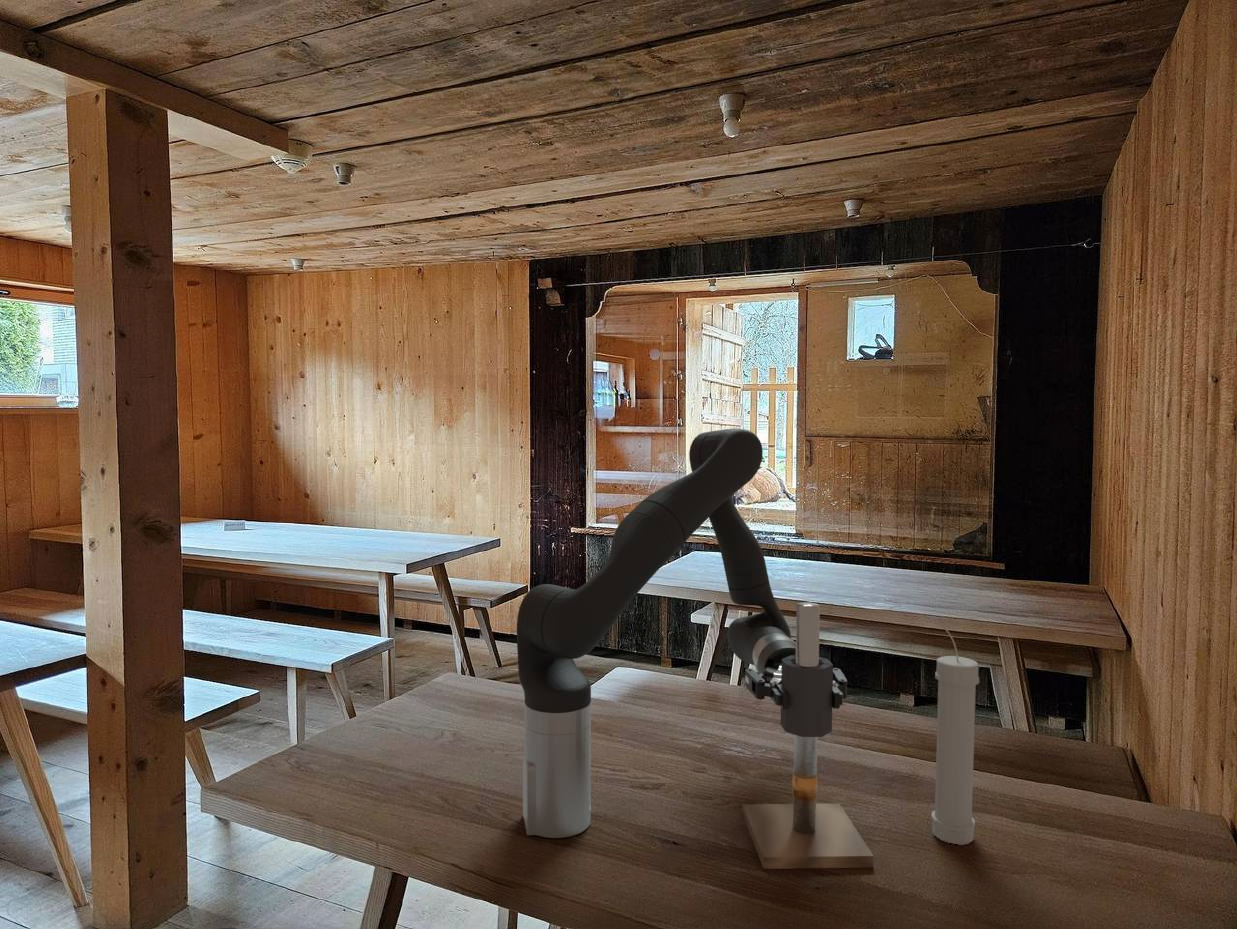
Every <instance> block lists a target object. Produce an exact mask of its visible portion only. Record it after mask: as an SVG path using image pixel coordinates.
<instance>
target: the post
mask: <svg viewBox="0 0 1237 929" xmlns="http://www.w3.org/2000/svg"><path fill="white" fill-rule="evenodd" d="M820 611H821V605H820V604H818V603H815V602H797V603H796V616H795V619H796V621H795V622H796V623H795V624H796V626H795V627H796V628H795V642H796V665H800V666H804V667H818V666H819V657H820V622H821V621H820V620H821V619H820V617H821V616H820V615H821V613H820ZM793 735H794V734H793ZM793 738H794V739H793V746H794V747H793V771H792V787H791V788H792V790H791V791H792V792H791V793H792V794H791V795H792V803H755V804H753V803H752V804H751V803H749V804H745V803H744V804H742V816H743V819H744V822H745V825H746V828H747V830H748V832H749V835H750V837H751V840H752V843H753V846H754V848H755V851H756V853H757V856H758V858H759V861H760V863H761V866H762V869H765V870H769V869H771V870H773V869H777V870H779V869H781V870H782V869H784V870H785V869H790V870H792V869H846V868H847V869H853V868H857V869H859V868H865V869H866V868H874V854H873V853H872V851H871V850H870V848H869V847H868V845H867V844H866V842H865V840H864V839H863V838H862V836H861V835H860V833H859V831H858V830H857V828H856V826H854V823H853V822H852V820H851V819H850V818H849V816H848V814H847V813H846V811H845V810H844V808H843V807H842V805H841V804H840V803H817V799H818V774H817V773H818V769H817V766H818V765H817V764H818V737H801V736H797V735H794V737H793Z"/></svg>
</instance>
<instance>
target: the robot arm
mask: <svg viewBox="0 0 1237 929" xmlns="http://www.w3.org/2000/svg"><path fill="white" fill-rule="evenodd" d="M688 454H689V455H688V457H689V465H690V469H691V472H690V473H689V474H687V475H684V476H683V477H681V478H678V479H676V480H675V481H672V482H671V483H668V484H667V485H665V486H662V487H661V488H659V489H657V490H656V491H654V492H653V493H651V494H649V495H648V496H646V497H645V498H644V499H642V501H640V502H639V503H638V504H637V505H636V506H635V507H634V508H633V509H632V510H631V511H630V512H628V514H626V515H625V516H624V517H623V519H622V520H621V521H620V522H619V523H618V524H617V527H616V529H615V531H614V534H613V537H612V541H611V547H610V552H609V555H608V558H607V560H606V562H605V563H604V564H603V566H602V567H601V568H600V569H599V570H598V571H597V572H596V573H595V574H594V575H593V576H592V577H590V579H588V581H586V582H585V583H584V584H583V585H581V586H579V587H578V588H576V589H573V588H569V587H564V586H561V585H555V584H551V583H545V584H544V583H543V584H539V585H537V586H534V587H532V588H531V589H530V590H529V591H528V592H526V594H525V595H524V597H523V599H522V601H521V603H520V605H519V607H518V612H517V617H516V618H517V619H516V647H517V667H518V678H519V682H520V685H521V688H522V690H523V693H524V750H523V751H522V817H523V822H524V827H525V828H524V829H525V833H526V836H539V837H542V838H547V839H549V838H550V839H561V838H562V839H563V838H569V837H574V836H576V835H578V834H581V833H583V832H584V831H585V830H586V829H588V827H589V826H590V824H591V812H592V811H591V810H592V809H591V808H592V805H591V804H592V803H591V794H592V792H591V784H592V783H591V782H592V780H591V775H592V774H591V773H592V771H591V770H592V769H591V768H592V763H591V762H592V760H591V759H592V758H591V757H592V755H591V754H592V753H591V752H592V745H591V744H592V736H591V735H592V733H591V732H592V714H591V713H592V687H591V682H590V680H589V679H588V677H587V676H586V675H585V674H584V673H583V672H582V671H581V670H580V669H579V667H578V666H577V664H576V663H575V661H574V659H575V660H576V659H580V658H581V657H582V658H583V657H584V656H586V655H588V654H589V653H590V652H591V651H593V650H594V649H595V647H596V646H597V645H598V644H599V643H600V642H601V640H603V638H604V637H605V635H606V634H607V633H608V632H609V630H610V629H611V628H612V626H613V625H614V623H616V622H617V620H618V619H619V617H620V615H621V614H622V613H623V611H624V610H625V609H626V608H627V607H628V605H629V604H630V603H631V601H632V600H633V599H634V597H635V596H636V595H637V594H638V593H639V592H640V590H642V589H643V588H644V587H645V585H646V584H647V583H648V582H649V581H650V580H651V579H652V578H653V577H654V575H655V574H656V573H657V572H658V571H659V570H660V569H661V568H662V567H663V566H664V565H665V564H666V563H667V562H668V561H669V560H670V559H671V558H672V557H673V556H674V555H675V554H676V553H677V552H678V551H679V549H681V547H682V546H684V544H685V543H686V542H687V541H688V540H689V538H691V536H692V535H693V534H694V533H695V532H696V531H697V530H698V529H699V528H700V527H701V526H702V525H703V524H704V523H705V521H707V520H708V519H709V521H710V524H711V528H712V529H713V532H714V535H715V537H716V540H717V544H718V548H719V551H720V554H721V559H722V564H723V569H724V573H725V577H726V578H725V579H726V584H727V587H728V592H729V597H730V600H731V601H732V602H733V603H734V604H735V605H739V606H753V607H754V606H755V607H761V608H762V610H763V611H762V612H760V613H756V614H751V615H747V616H741V617H738V618H736V619H734V620H733V621H732V622H731V623H730V624H729V625H728V628H727V634H726V635H727V637H726V638H727V641H728V645H729V647H730V649H731V651H732V652H733V654H734V655H735V656H736V657H737V658H738V659H739V660H741V661H742V662H745V663H747V664H750V665H751V666H754V668H755V670H754V669H753V668H751V667H750V668H749V667H748V668H745V680H744V681H745V682H744V683H745V685H744V686H745V688H746V689H747V690H748V691H749V692H750V693H751V695H753V696H754V697H755V699H757V700H765V699H766V697H768V698H769V700H770V701H772V702H774V704H775V705H776V706H779V707H780V709H781V708H782V709H788V693H787V691H786V690H785V689H784V687H783V686H782V685H781V673H782V659H783V658H786V657H788V656H791V655H796V641H795V640H793V639H792V638H791V637H792V635H791V634H792V633H791V629H790V627H789V624H788V622H787V621H786V619H785V617H784V615H783V613H782V611H781V609H780V608H779V606H778V603H777V601H776V599H775V596H774V594H773V591H772V588H771V584H770V579H769V575H768V574H769V573H768V569H767V564H766V560H765V559H766V558H765V555H764V553H763V549H762V547H761V544H760V543H759V541H758V539H757V538H756V536H755V534H754V533H753V532H752V530H751V529H750V527H749V526H748V524H747V523H746V521H745V520H744V519H743V517H742V516H741V514H740V513H739V510H738V508H737V507H736V505H735V502H734V500H733V497H732V496H733V495H734V494H736V492H738V491H739V490H741V488H743V487H745V485H747V484H748V483H749V482H750V481H751V480H752V479H753V478H754V477H755V475H756V474H757V473H758V471H759V470H760V467H761V465H762V460H763V454H764V453H763V445H762V442H761V440H760V439H759V436H757V435H756V434H755V433H754V432H752V431H750V430H748V429H745V428H740V427H739V428H737V427H735V428H726V429H725V428H724V429H720V430H719V429H718V430H717V429H716V430H711V431H705V432H702V433H699V434H698V435H696V436H695V437H694V439H693V440H692V441H691V444H690V447H689V452H688ZM847 685H848V679H847V678H846V676H845V674H844V672H842V670H841V668H837V667H833V690H832V709H836V710H840V708H841V706H843V702H844V701H843V700H844V699H845V700H846V699H847V698H848V693H847Z"/></svg>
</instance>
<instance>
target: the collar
mask: <svg viewBox="0 0 1237 929" xmlns="http://www.w3.org/2000/svg"><path fill="white" fill-rule="evenodd" d="M833 668H834V664H833V663H832V662H831V661H830V660H829V659H828V658H825V657H820V656H819V666H818V667H804V666H800V665H796V655H791V656H788V657H786V658H783V659H782V673H781V685H782V686H783V687H784V689H785V690H786V691H787V693H788V709H782V708H781V707H780V726H781V727H782V729H783V731H784V732H785V733H788V734H790V735H797V736H801V737H817V738H823V737H824V736H827V735H828V734H830V733H832V731H833V729H832V728H833V707H832V690H833Z"/></svg>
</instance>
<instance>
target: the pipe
mask: <svg viewBox="0 0 1237 929" xmlns="http://www.w3.org/2000/svg"><path fill="white" fill-rule="evenodd" d="M930 619H931V620H933V621H935V623H936V624H938V625H940V626H941V627H942V629H943V630H945V632H946V633H947V634H948V636H949V637H950V639H951V642H952V644H953V646H954V651H955V655H956V656H955V655H944V656H940V657H938V658H937V659H936V671H935V673H934V675H935V676H934V679H935V680H937V681H938V682H937V684H938V685H937V690H938V691H937V717H936V718H937V720H936V750H935V752H936V757H935V758H936V759H935V760H936V761H935V763H936V764H935V791H934V792H935V793H934V794H935V795H934V799H935V800H934V810H933V811H931V819H930V820H931V822H932V826H931V827H932V828H931V830H932V831H931V832H932V834H933V835H934V837H935V836H936V837H937V838H936V837H935V838H936V839H938V838H939V839H940V840H939V839H938V840H939V841H941V840H942V841H941V842H943V841H945V842H944V843H946V842H948V843H947V844H949V843H953V844H952V845H954V844H958V845H957V846H966V845H970V844H971V843H972V842H973V841H974V832H975V831H974V829H975V828H976V820H975V818H973V793H974V792H973V791H974V790H973V789H974V787H973V786H974V782H973V781H974V759H975V758H974V753H975V749H974V748H975V725H976V724H975V723H976V722H975V720H976V718H975V717H976V715H975V714H976V687H977V685H979V684H980V677H979V663H978V662H977V661H975V660H974V659H971V658H967V657H964V656H959V654H958V649H957V644H956V642H955V640H954V638H953V636H952V634H951V633H950V631H949V630H948V629H947V628H946V627H945V626H944V625H943V624H942V623H941V622H940V621H939V620H937V619H936V618H934V617H930ZM970 842H971V843H970ZM969 843H970V844H969ZM965 844H966V845H965Z"/></svg>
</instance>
